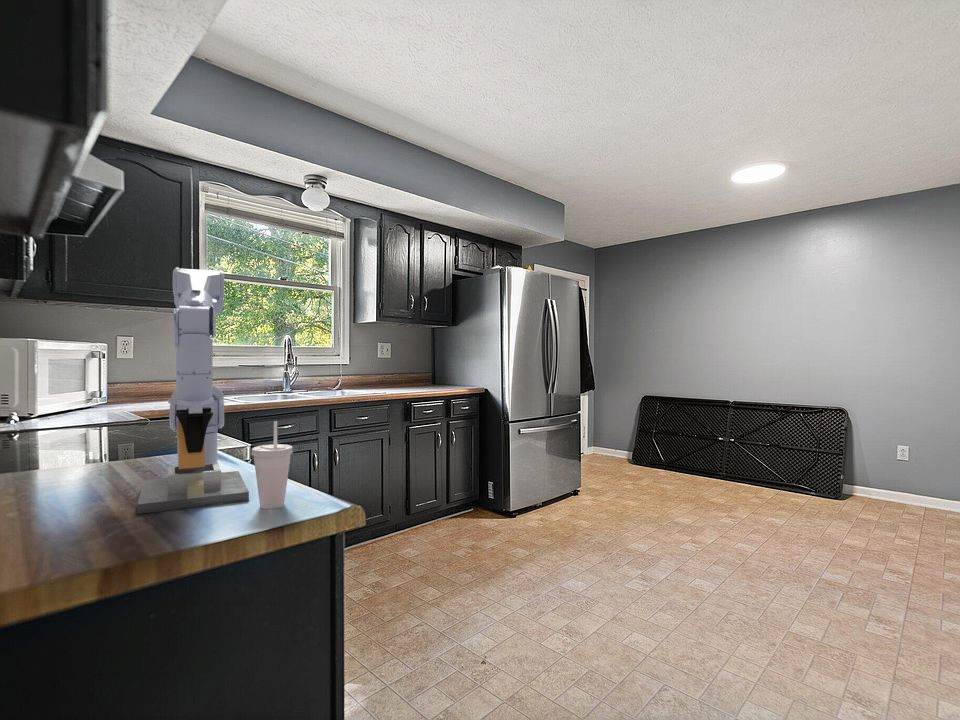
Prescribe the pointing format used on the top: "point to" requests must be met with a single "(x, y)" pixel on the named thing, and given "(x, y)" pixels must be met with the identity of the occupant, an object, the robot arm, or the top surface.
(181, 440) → the wedge pin
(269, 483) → the smoothie
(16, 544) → the top surface
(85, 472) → the top surface
